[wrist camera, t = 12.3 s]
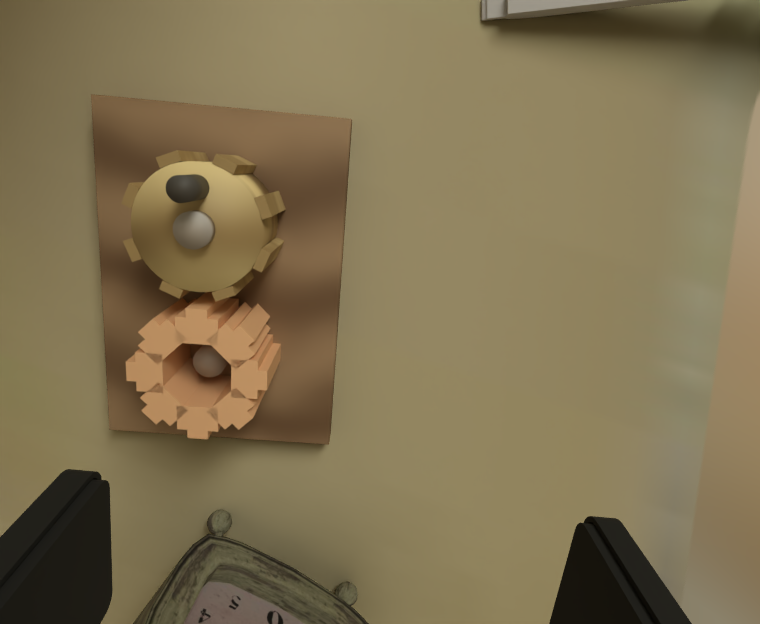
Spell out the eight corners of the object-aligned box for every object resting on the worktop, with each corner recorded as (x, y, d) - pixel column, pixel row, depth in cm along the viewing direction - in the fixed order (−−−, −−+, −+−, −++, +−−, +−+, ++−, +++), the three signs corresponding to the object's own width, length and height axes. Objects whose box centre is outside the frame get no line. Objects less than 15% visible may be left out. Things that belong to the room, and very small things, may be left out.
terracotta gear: (157, 284, 31) (122, 303, 27) (282, 293, 31) (268, 314, 27) (160, 399, 33) (129, 434, 29) (278, 406, 33) (265, 442, 29)
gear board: (104, 97, 30) (5, 72, 22) (351, 121, 30) (345, 104, 22) (120, 418, 35) (45, 494, 27) (330, 432, 36) (319, 511, 27)
